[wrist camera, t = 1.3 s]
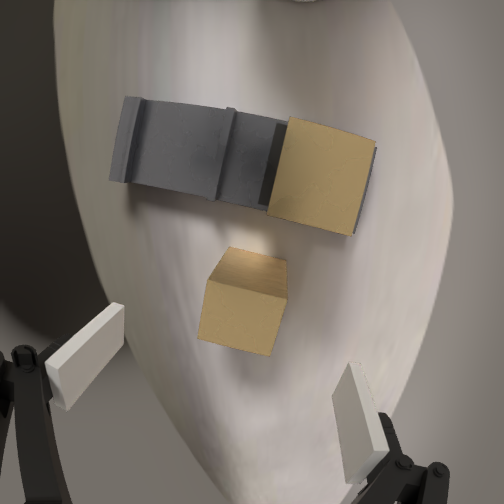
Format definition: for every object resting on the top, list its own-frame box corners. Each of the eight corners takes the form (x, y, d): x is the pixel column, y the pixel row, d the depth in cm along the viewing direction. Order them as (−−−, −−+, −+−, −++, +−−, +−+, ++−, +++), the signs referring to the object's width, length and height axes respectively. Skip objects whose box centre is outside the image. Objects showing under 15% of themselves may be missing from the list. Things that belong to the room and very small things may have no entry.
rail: (142, 103, 23) (75, 78, 13) (369, 149, 22) (421, 139, 13) (127, 178, 25) (55, 188, 15) (349, 228, 24) (387, 266, 15)
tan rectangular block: (286, 260, 26) (287, 299, 18) (271, 311, 27) (267, 363, 20) (229, 246, 26) (207, 279, 18) (218, 298, 27) (196, 345, 20)
